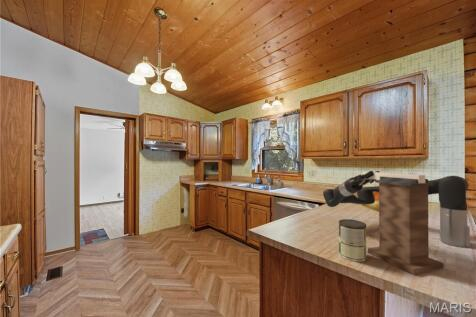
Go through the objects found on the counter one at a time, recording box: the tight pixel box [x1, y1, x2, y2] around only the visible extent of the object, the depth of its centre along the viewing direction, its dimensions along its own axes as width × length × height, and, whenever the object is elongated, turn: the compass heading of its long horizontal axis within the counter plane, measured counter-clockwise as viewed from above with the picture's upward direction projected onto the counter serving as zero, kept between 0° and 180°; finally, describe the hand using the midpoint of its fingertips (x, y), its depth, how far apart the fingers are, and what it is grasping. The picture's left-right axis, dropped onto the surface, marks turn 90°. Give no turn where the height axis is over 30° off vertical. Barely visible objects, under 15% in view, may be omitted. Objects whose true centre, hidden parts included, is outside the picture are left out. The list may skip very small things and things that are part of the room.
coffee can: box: [338, 218, 367, 263], centre depth 86 cm, size 10×10×14 cm
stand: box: [367, 177, 445, 276], centre depth 83 cm, size 18×16×34 cm
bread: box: [361, 191, 379, 213], centre depth 174 cm, size 25×12×15 cm, turn 177°
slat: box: [362, 171, 426, 183], centre depth 88 cm, size 24×4×3 cm, turn 16°
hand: (375, 172), depth 94 cm, fingers closed on slat, 3 cm apart
